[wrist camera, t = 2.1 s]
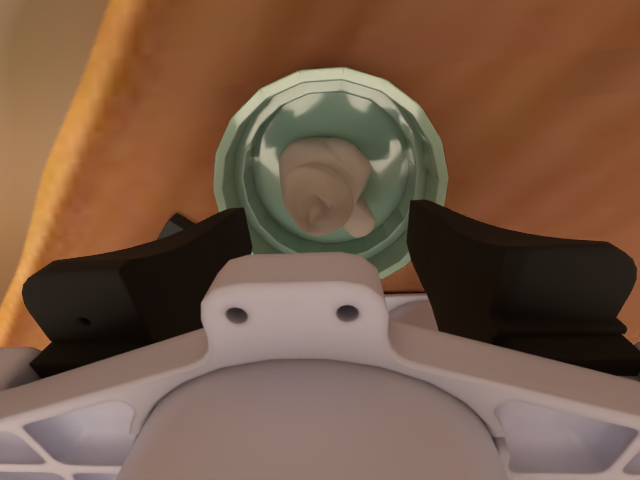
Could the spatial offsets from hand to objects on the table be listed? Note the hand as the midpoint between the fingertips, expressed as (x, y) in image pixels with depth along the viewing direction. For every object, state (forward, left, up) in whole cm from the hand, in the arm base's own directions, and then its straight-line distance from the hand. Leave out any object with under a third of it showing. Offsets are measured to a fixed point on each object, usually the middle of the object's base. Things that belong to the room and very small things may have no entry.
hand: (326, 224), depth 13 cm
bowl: (0, 0, -7) cm, 7 cm away
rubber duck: (0, 0, -7) cm, 7 cm away
